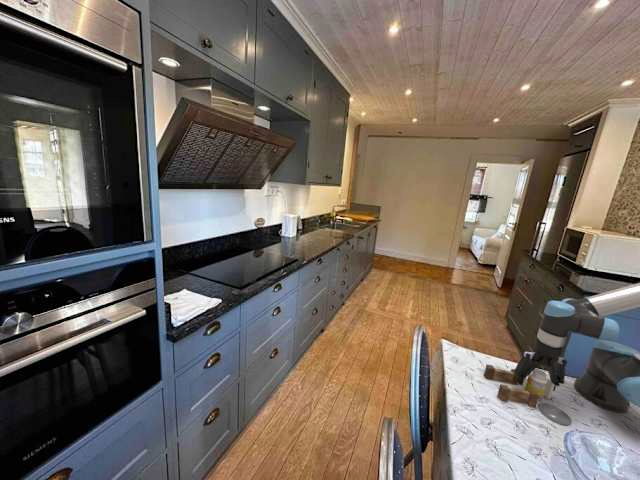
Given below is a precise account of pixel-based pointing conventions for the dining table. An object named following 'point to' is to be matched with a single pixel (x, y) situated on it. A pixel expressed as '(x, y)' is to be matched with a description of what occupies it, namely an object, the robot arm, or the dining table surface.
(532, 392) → the walnut channel
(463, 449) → the dining table surface
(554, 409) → the slate coaster
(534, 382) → the supplement bottle
